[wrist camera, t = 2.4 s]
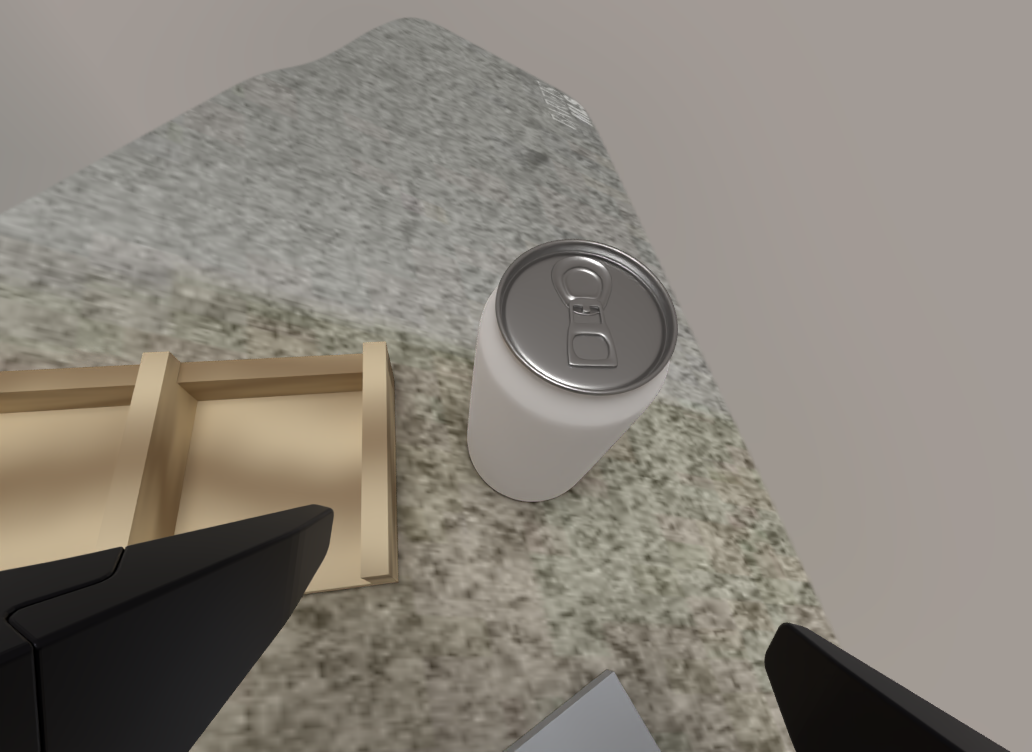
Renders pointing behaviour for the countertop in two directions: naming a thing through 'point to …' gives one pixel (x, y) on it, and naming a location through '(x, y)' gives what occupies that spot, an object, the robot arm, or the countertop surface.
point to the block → (591, 723)
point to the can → (564, 364)
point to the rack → (201, 455)
